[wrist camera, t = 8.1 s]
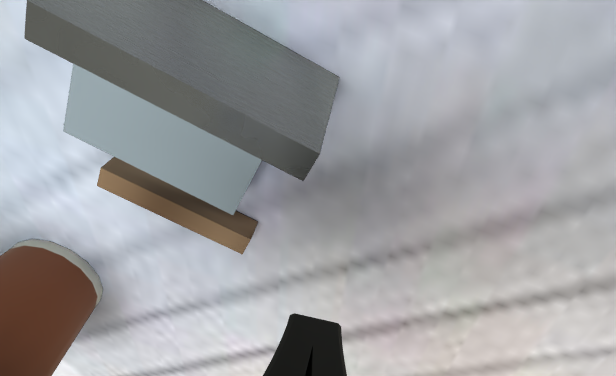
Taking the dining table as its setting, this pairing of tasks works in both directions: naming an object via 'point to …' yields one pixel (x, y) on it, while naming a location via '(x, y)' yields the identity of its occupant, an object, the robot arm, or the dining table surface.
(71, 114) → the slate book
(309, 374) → the robot arm
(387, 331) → the dining table surface
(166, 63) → the grey flat block
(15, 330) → the coffee cup
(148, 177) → the walnut rail
